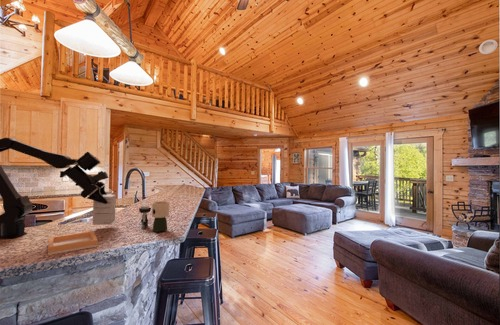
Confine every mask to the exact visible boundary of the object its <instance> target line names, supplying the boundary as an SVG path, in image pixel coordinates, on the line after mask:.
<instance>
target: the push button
mask: <svg viewBox="0 0 500 325" xmlns="http://www.w3.org/2000/svg"><path fill="white" fill-rule="evenodd" d="M151 210H152V207H150V205H142V206H140V207H139V208H138V212H139V213H140V214H142V218H141V219H140V223H141V229H147V227H149V223H148V222H149V219H148V215H147V214H149V213H150V212H151Z"/></svg>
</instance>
